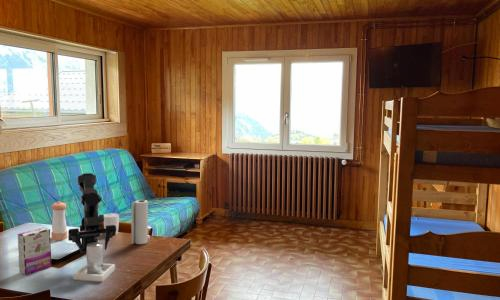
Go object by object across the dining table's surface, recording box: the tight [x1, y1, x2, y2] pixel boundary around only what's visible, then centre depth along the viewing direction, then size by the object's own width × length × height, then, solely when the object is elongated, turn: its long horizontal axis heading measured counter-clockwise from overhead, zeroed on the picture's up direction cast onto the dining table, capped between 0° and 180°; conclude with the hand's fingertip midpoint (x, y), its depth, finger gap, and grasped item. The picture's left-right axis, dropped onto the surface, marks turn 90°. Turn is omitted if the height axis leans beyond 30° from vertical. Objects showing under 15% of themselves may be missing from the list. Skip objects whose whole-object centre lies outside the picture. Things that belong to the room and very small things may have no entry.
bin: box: [73, 263, 116, 283], centre depth 160 cm, size 12×12×2 cm
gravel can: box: [86, 241, 104, 275], centre depth 159 cm, size 6×6×12 cm
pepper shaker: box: [50, 201, 68, 241], centre depth 201 cm, size 7×7×19 cm
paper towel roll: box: [130, 199, 149, 245], centre depth 198 cm, size 7×6×21 cm
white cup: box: [103, 212, 120, 236], centre depth 211 cm, size 8×8×10 cm
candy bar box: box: [17, 226, 52, 276], centre depth 162 cm, size 11×5×16 cm, turn 148°
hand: (93, 251), depth 164 cm, fingers open, 9 cm apart
